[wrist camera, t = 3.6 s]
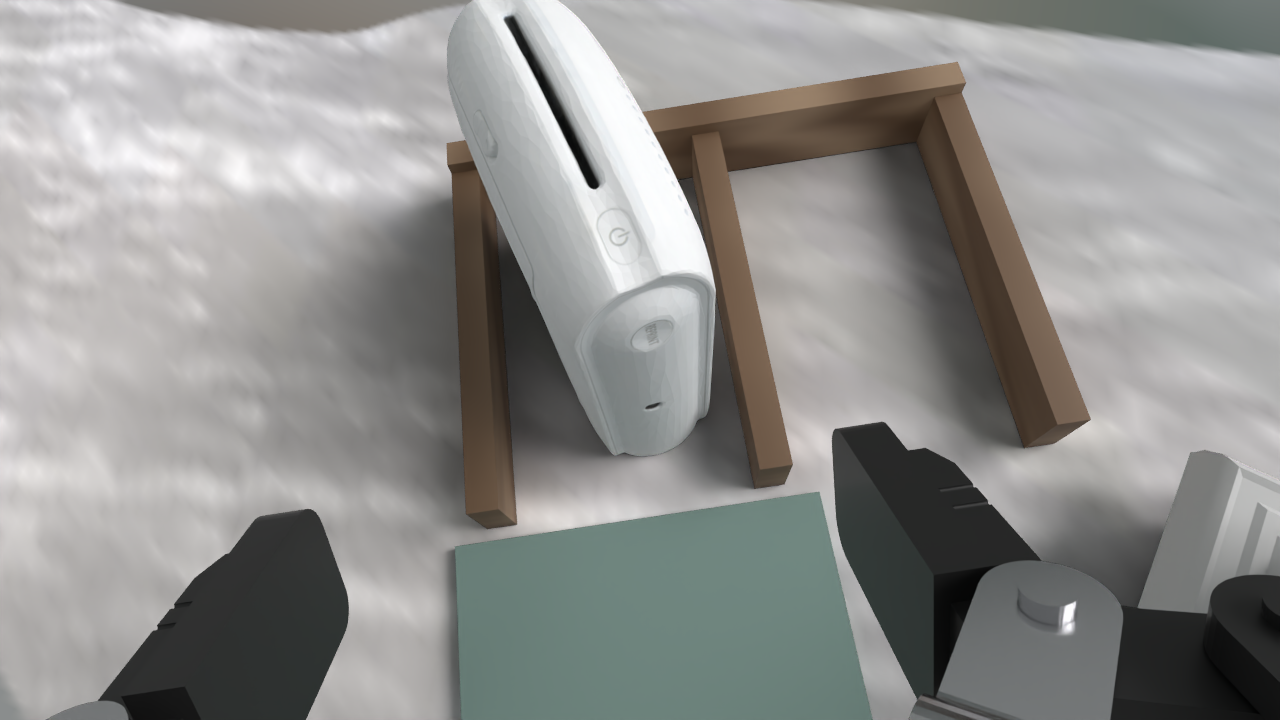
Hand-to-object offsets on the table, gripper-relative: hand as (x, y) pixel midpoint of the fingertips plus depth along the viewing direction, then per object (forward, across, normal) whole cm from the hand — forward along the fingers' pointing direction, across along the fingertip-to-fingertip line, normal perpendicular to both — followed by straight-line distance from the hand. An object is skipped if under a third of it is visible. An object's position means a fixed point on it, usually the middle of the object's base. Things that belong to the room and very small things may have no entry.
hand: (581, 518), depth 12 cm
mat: (+7, 0, +12) cm, 14 cm away
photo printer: (+16, 0, +3) cm, 16 cm away
